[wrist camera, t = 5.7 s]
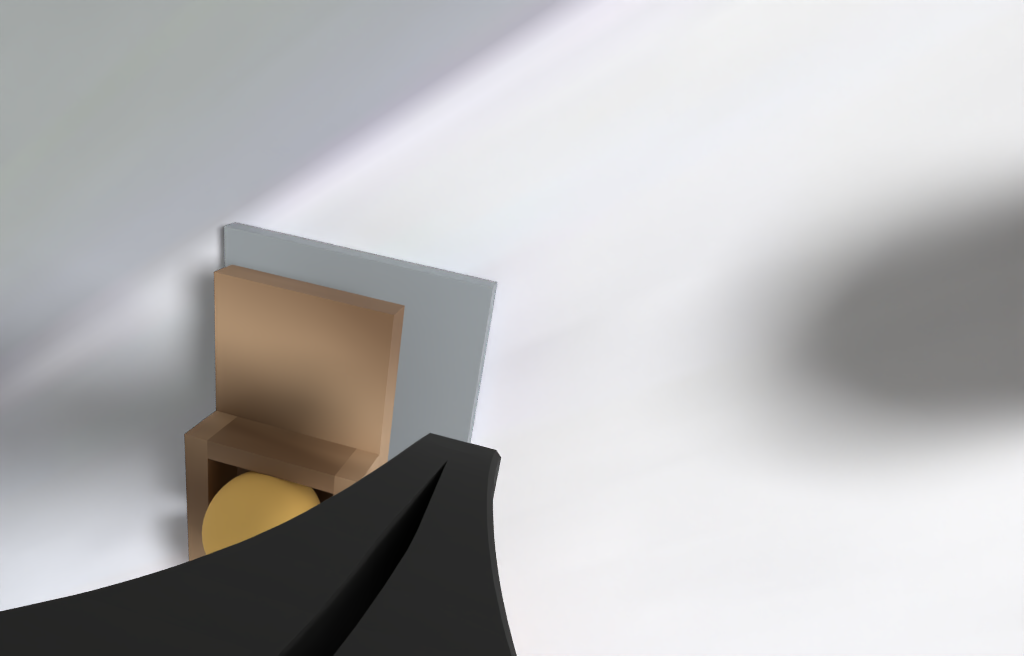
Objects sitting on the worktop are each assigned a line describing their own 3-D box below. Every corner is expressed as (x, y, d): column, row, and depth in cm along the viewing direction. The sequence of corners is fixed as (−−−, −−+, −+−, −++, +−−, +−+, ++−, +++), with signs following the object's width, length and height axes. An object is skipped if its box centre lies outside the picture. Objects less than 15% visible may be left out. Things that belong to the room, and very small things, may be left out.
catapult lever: (371, 661, 23) (340, 725, 20) (229, 616, 23) (183, 674, 21) (413, 305, 17) (377, 338, 15) (227, 261, 18) (166, 287, 16)
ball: (305, 610, 18) (274, 586, 15) (205, 580, 19) (157, 551, 16) (350, 505, 20) (328, 467, 17) (257, 478, 20) (221, 438, 18)
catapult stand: (442, 610, 25) (404, 705, 21) (236, 549, 26) (165, 628, 22) (497, 282, 20) (460, 329, 16) (235, 222, 21) (141, 253, 17)
